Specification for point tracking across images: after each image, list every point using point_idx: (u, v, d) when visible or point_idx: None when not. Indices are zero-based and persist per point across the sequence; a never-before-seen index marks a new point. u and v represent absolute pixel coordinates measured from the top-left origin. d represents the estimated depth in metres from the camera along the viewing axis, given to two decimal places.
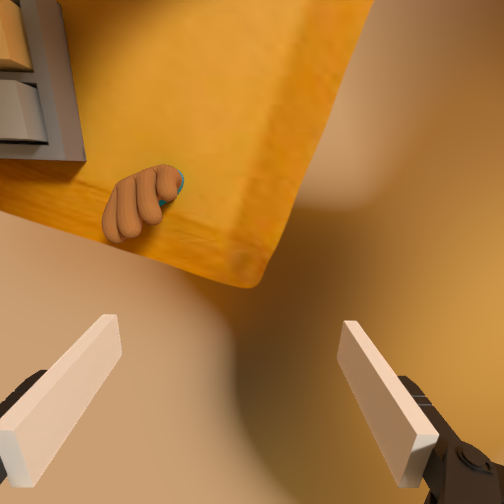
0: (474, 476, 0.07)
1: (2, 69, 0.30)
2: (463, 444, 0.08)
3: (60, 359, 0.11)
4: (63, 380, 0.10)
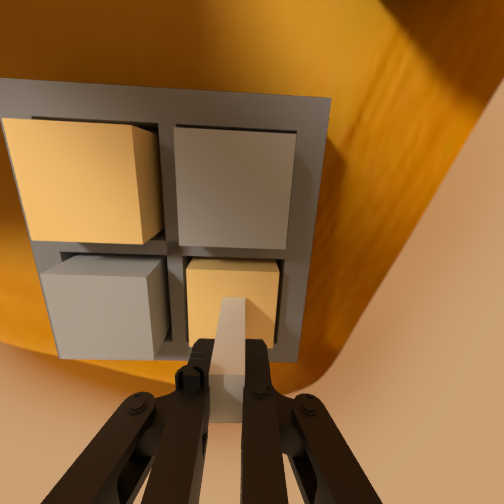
0: (261, 403, 0.09)
1: (160, 199, 0.17)
2: (253, 382, 0.10)
3: (218, 329, 0.13)
4: None
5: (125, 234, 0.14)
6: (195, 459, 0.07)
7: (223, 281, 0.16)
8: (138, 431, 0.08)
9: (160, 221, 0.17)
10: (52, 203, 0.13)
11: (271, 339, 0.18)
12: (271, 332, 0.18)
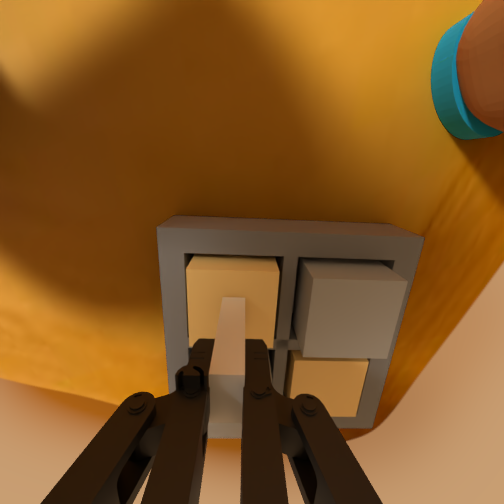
0: (261, 403, 0.09)
1: None
2: (253, 382, 0.10)
3: (218, 329, 0.13)
4: None
5: None
6: (195, 459, 0.07)
7: (323, 368, 0.20)
8: (138, 431, 0.08)
9: None
10: (211, 322, 0.17)
11: (355, 410, 0.22)
12: (356, 405, 0.21)
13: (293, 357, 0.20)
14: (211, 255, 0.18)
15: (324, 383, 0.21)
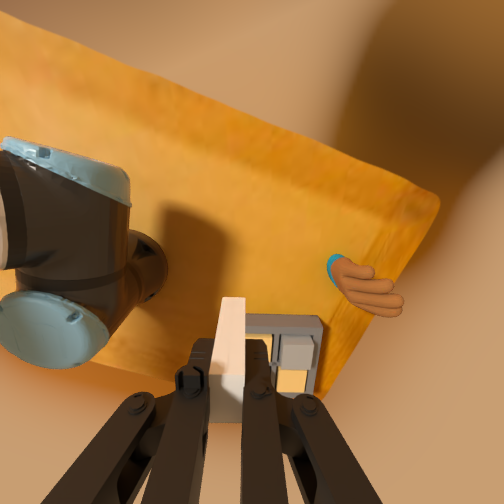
0: (261, 403, 0.09)
1: None
2: (253, 382, 0.10)
3: (218, 329, 0.13)
4: None
5: None
6: (195, 459, 0.07)
7: (290, 373, 0.53)
8: (138, 431, 0.08)
9: None
10: None
11: (303, 389, 0.54)
12: (303, 387, 0.54)
13: (278, 368, 0.53)
14: None
15: (290, 379, 0.53)
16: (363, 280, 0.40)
